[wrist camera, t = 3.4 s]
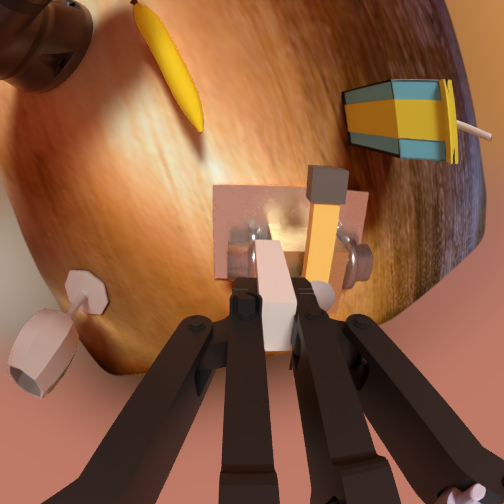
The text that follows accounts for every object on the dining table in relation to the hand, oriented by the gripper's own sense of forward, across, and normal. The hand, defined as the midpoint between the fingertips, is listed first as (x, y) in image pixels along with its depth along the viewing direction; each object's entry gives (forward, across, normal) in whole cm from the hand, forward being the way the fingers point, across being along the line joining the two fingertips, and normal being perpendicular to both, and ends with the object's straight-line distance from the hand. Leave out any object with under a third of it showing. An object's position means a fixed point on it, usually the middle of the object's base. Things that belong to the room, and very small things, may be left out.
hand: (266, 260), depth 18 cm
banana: (+20, -10, +16) cm, 27 cm away
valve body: (+20, +5, -6) cm, 21 cm away
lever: (+10, +6, -3) cm, 12 cm away
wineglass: (+20, -27, -16) cm, 37 cm away
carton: (+20, +15, +11) cm, 27 cm away
